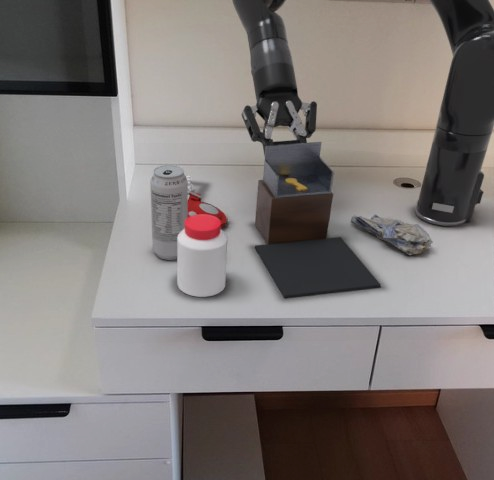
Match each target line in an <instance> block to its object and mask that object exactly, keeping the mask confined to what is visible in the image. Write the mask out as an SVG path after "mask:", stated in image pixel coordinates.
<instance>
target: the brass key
mask: <svg viewBox="0 0 494 480" xmlns="http://www.w3.org/2000/svg"><path fill="white" fill-rule="evenodd" d="M285 182H286V183H287V184H292V185H294V186H296V189H297V190H299V191H302V190H303V191H304V190H307V189H308V188H307V187H305V186H303V185H302V184H300V183H298V182H297V180H296V179H294V178H287V179H286V180H285Z"/></svg>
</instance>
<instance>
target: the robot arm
mask: <svg viewBox="0 0 494 480" xmlns="http://www.w3.org/2000/svg"><path fill="white" fill-rule="evenodd" d="M231 1H232V4H233V7H234V10H235V11H236V14H237V16H238V18H239V20H240V22H241V25H242V27H243V29H244V31H245V33H246V36H247V43H248V49H249V55H250V69H251V70H250V73H251V77H252V82H253V87H254V94H255V100H256V103H255V105H253V106H251V105H248V104H247V105H245V106H244V108H243V110H242V112H241V118H242V120H243V123H244V125H245V129H246V130H247V133H248V135H249V137H250V140H251V141H252V142H253V143H254V142H255V143H256V142H259V143H260V144H261V145H262V149H263V156H264V157H265V149H266V146H269V145H274V144H273V142H274V139H273V138H272V135H273V130H274V128H276V127H277V128H278V127H287V129H288V130H289V132H290V133H292V135H293V137H294V138H295V140H299V141H300V143H308V141H307V139H310V138H311V137H312V136H313V134H314V133H315V132H316V131H317V113H318V112H317V111H318V103H317V101H314V100H313V101H311V102H310V103H308V102H303V101H302V100H301V98H300V97H299V94H298V93H299V92H298V91H299V90H298V85H297V79H296V73H295V67H294V62H293V56H292V52H291V49H290V46H289V42H288V40H289V39H288V35H287V29H286V24H285V20H284V18H283V17H282V16H281V14H279V13H277V12H278V11H279V10H280V9H281V8H282V7H283V6H284V5H285V3H286V1H287V0H231ZM428 2H429V3H430V4H431V6H432V7H433V8H434V10H435V12H436V13H437V16H438V17H439V20H440V22H441V24H442V26H443V29H444V32H445V34H446V35H445V36H446V37H447V40H448V43H449V46H450V50H451V54H452V59H451V63H450V67H449V71H448V75H447V78H446V82H445V87H444V92H443V95H442V100H441V104H440V108H439V112H438V116H437V117H438V118H437V121H436V126H435V129H434V134H433V138H432V142H431V146H430V151H429V153H428V154H429V155H428V159H427V162H426V166H425V171H424V175H423V179H422V183H421V187H420V191H419V196H418V200H417V203H416V206H415V209H414V213H415V215H416V216H417V218H418V219H420V220H422V221H423V222H426V223H428V224H431V225H436V226H441V227H442V226H443V227H457V226H460V225H464V224H465V223H471V222H472V218H473V215H474V211H475V207H476V205H478V204H479V205H480V204H481V201H482V199H483V195H484V191H483V190H482V189H481V188H482V185H483V181H484V178H485V174H484V172H483V171H482V169H483V168H482V167H483V165H484V161H485V158H486V154H487V152H488V148H489V144H490V141H491V137H492V134H493V131H494V7H493V5H492V4H491V1H490V0H428ZM300 111H302V114H303V116H304V117H305V121H304V122H305V123H304V125H303V121H302V119H301V117H300V115H299V112H300ZM257 115H258V116H260V119H262V120H263V121H264V124H263V129H262V131H261V129H260V127H259V124H258V121H257V119H256V117H257ZM304 126H305V127H304Z"/></svg>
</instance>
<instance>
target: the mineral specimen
mask: <svg viewBox="0 0 494 480" xmlns="http://www.w3.org/2000/svg"><path fill="white" fill-rule="evenodd" d="M350 223H351V224H353V225H354V226H356V227H359V228H361V229H363V230H365V231H367V232H369V233H371V234H373V235H375V236H376V237H377V239H379V240H382V241H385V242H386V243H388V244H391V245H392V246H393V247H395V248H397V249H398V250H400V251H401V252H403V253H405V254H406V255H409V256H412V255H417V254H422V253H423V251H426V250H427V249H430V248H431V247H432V244H433V239H432V238H431V236H430V235H429V233H428V232H427V231H426V230H425V229H424V228H423V227H422V226H421V225H420V224H413V223H412V224H411V223H407V222H405V221H402V220H400V219H391V218H382V217H380V216H378V215H377V214H374V215H372V216H371V218H367V217H363V216H362V215H359V216H358V215H355V214H354V215H351V219H350Z"/></svg>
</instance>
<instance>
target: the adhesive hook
mask: <svg viewBox="0 0 494 480" xmlns="http://www.w3.org/2000/svg"><path fill="white" fill-rule="evenodd" d="M185 176H186V178H187V180H188V192H189V191H191V192H194V189H195V184H193V180H192V176H190V175H185Z"/></svg>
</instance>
